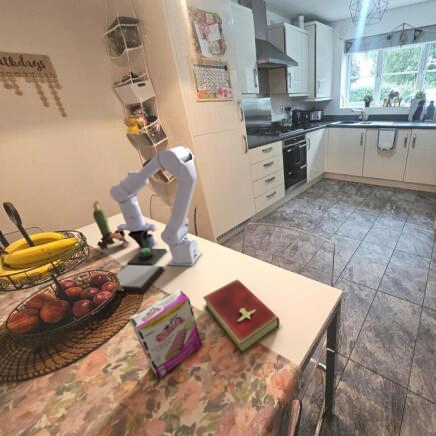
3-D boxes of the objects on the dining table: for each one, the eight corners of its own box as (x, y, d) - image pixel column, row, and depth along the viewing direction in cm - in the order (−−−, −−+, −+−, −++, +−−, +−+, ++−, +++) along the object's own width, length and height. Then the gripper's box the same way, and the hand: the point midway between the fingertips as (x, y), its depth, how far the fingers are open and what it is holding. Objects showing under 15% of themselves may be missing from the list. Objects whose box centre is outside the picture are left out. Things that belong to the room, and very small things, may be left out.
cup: (158, 242, 109) (155, 233, 107) (150, 249, 104) (147, 240, 102) (146, 242, 110) (143, 233, 108) (137, 249, 104) (134, 240, 102)
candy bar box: (159, 381, 54) (136, 330, 47) (150, 367, 57) (126, 317, 50) (203, 345, 62) (189, 296, 55) (193, 334, 65) (178, 287, 58)
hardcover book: (240, 287, 81) (238, 277, 79) (279, 326, 66) (279, 315, 64) (205, 306, 74) (202, 296, 72) (241, 354, 59) (239, 343, 57)
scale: (164, 270, 91) (162, 265, 90) (143, 293, 80) (141, 287, 79) (129, 269, 92) (127, 263, 91) (104, 291, 81) (101, 286, 80)
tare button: (152, 250, 98) (150, 247, 97) (147, 255, 95) (146, 251, 95) (145, 250, 98) (143, 247, 98) (140, 254, 96) (139, 251, 95)
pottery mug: (125, 252, 103) (107, 241, 98) (109, 261, 105) (90, 250, 100) (135, 232, 112) (119, 221, 107) (120, 241, 114) (104, 230, 109)
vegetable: (103, 243, 109) (84, 202, 101) (111, 238, 113) (95, 198, 104) (110, 245, 108) (92, 203, 99) (119, 240, 112) (102, 199, 103)
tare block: (166, 251, 102) (164, 245, 101) (152, 266, 93) (149, 260, 92) (144, 251, 103) (142, 245, 102) (128, 265, 94) (125, 259, 93)
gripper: (157, 210, 92) (166, 241, 98) (122, 210, 94) (133, 240, 100) (145, 219, 86) (156, 251, 92) (108, 218, 88) (121, 250, 94)
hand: (143, 246), depth 96 cm, fingers closed
